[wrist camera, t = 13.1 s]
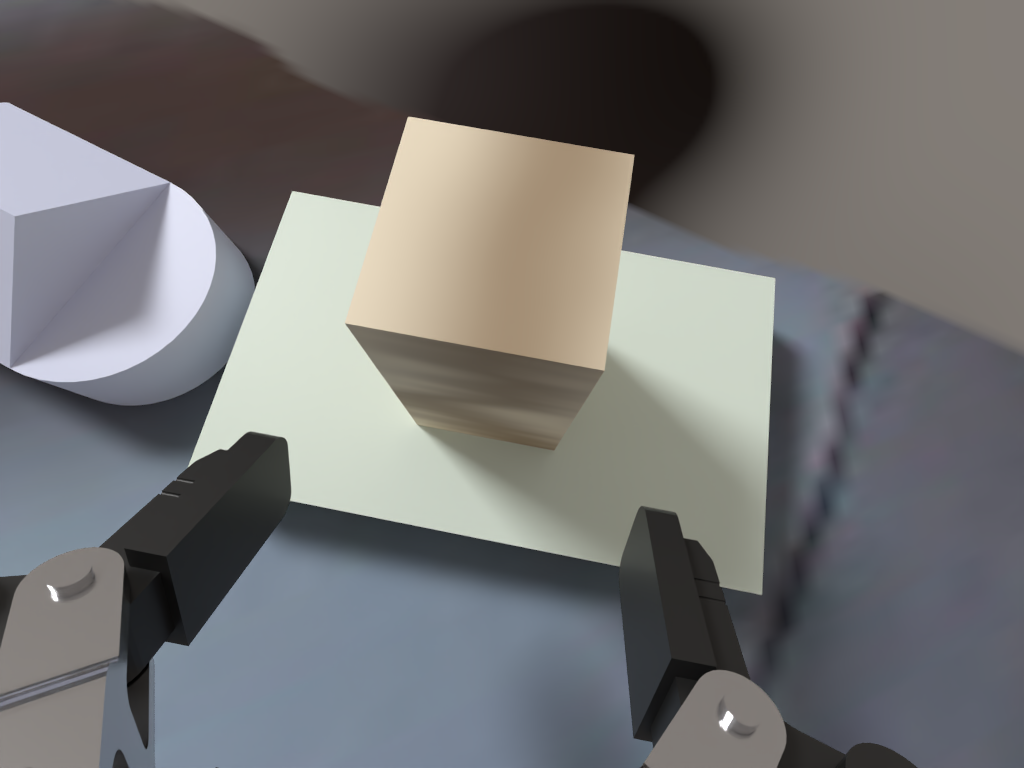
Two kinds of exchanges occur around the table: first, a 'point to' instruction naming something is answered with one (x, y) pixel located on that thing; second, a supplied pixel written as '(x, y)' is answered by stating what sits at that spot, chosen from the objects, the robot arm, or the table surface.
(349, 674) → the table surface
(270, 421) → the sage board
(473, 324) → the birch block
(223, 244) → the wedge on round base
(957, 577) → the table surface
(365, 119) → the table surface
